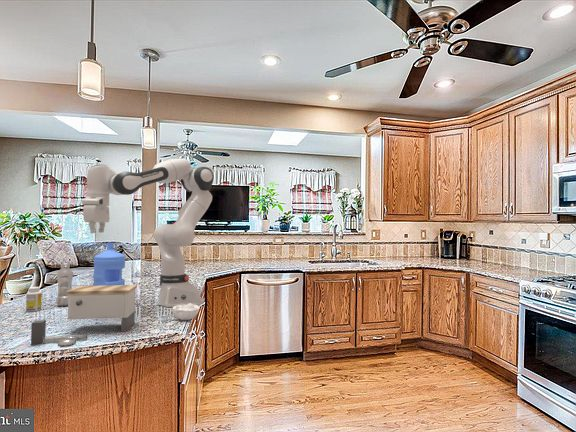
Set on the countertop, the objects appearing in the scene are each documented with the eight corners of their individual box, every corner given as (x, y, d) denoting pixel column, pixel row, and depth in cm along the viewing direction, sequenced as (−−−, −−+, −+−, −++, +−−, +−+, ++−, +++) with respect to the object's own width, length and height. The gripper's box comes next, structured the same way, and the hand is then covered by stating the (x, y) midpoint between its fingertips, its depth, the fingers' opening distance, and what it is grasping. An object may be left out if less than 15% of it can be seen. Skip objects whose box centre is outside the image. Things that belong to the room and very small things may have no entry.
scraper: (87, 337, 119) (88, 317, 119) (85, 340, 116) (85, 319, 116) (34, 341, 114) (35, 320, 115) (30, 344, 112) (31, 323, 112)
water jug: (86, 295, 185) (87, 243, 186) (106, 290, 201) (107, 241, 201) (112, 297, 183) (113, 244, 183) (130, 291, 198) (131, 242, 199)
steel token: (77, 341, 116) (77, 336, 116) (73, 346, 111) (73, 341, 111) (60, 343, 114) (60, 338, 114) (55, 348, 110) (55, 343, 110)
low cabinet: (136, 323, 137) (137, 284, 137) (127, 332, 125) (128, 291, 125) (78, 324, 133) (79, 285, 134) (63, 335, 121) (64, 292, 122)
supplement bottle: (39, 308, 158) (40, 285, 158) (43, 310, 154) (43, 287, 154) (24, 310, 154) (25, 287, 154) (27, 312, 150) (28, 289, 150)
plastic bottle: (64, 307, 159) (65, 264, 160) (52, 306, 161) (53, 263, 161) (76, 304, 166) (77, 262, 166) (64, 303, 167) (65, 262, 167)
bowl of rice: (184, 314, 151) (185, 298, 151) (205, 318, 145) (205, 302, 145) (165, 319, 142) (166, 303, 142) (186, 324, 136) (187, 307, 136)
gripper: (99, 202, 162) (98, 232, 162) (80, 199, 142) (79, 233, 142) (113, 202, 163) (112, 232, 163) (97, 200, 143) (96, 233, 143)
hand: (97, 232), depth 152 cm, fingers open, 8 cm apart
